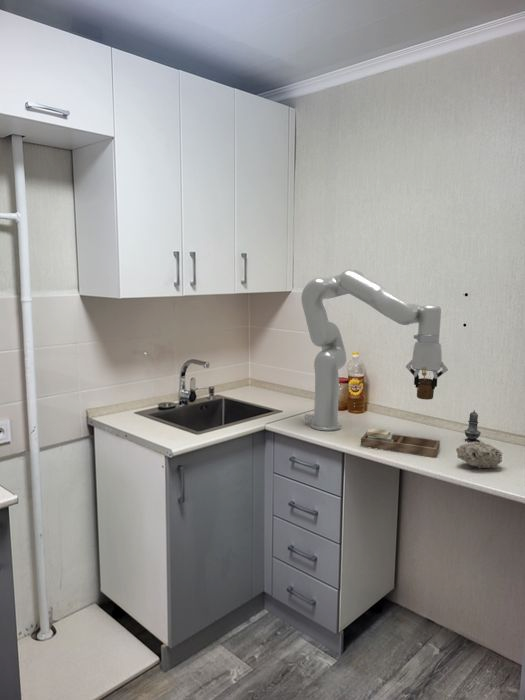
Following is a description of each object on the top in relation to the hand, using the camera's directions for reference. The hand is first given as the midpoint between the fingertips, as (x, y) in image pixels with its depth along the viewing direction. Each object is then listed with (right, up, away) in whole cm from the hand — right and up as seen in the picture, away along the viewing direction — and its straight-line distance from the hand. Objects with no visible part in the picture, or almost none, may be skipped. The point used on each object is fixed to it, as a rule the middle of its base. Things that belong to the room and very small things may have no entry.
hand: (425, 387), depth 199 cm
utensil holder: (0, -4, +1) cm, 4 cm away
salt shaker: (+19, -21, +4) cm, 28 cm away
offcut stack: (-18, -21, -3) cm, 28 cm away
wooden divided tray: (-11, -21, -6) cm, 24 cm away
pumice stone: (+10, -24, -23) cm, 35 cm away
